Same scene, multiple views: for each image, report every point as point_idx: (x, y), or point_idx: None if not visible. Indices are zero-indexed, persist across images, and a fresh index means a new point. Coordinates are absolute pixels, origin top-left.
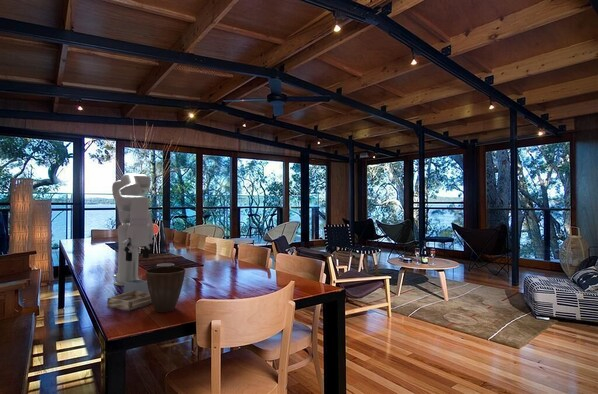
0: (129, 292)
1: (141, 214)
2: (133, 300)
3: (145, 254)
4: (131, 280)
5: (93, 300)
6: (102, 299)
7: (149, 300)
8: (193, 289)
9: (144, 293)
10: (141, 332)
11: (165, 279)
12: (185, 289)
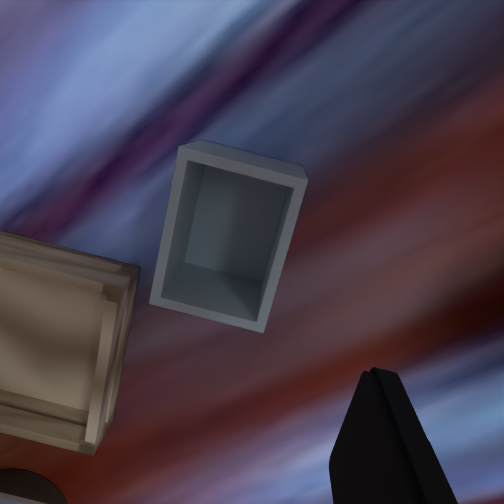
0: (64, 282)
1: None
2: (72, 306)
3: (354, 476)
4: (250, 176)
5: (7, 10)
6: (52, 61)
7: (61, 418)
8: None
9: (95, 377)
10: None
11: None
12: None
